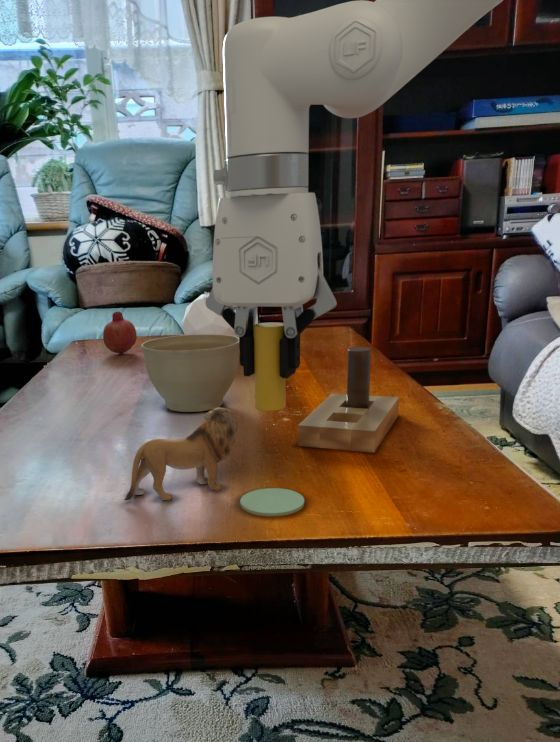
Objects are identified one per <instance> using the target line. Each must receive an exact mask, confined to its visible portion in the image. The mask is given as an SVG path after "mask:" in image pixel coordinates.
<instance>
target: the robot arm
mask: <svg viewBox="0 0 560 742" xmlns="http://www.w3.org/2000/svg"><path fill="white" fill-rule="evenodd" d="M503 1H504V0H374V1H370V0H351V1H346V2H342V3H339V4H335V5H331V6H327V7H325V8H322V9H318V10H315V11H312V12H307V13H304V14H300V15H296V16H292V17H287V16H261V17H255V18H250V19H246V20H243V21H241V22H239V23H236V24H234V25H232V27H230V29H229V30H228V31H227V33H226V34H225V36H224V39H223V46H222V64H223V65H222V66H223V69H222V70H223V92H224V96H223V97H224V117H225V118H224V121H225V123H224V125H225V159H226V160H224V161H223V162H224V164H223V165H224V167H222V168H221V169H215V170H214V172H213V181H214V184H215V185H216V186H220V185H222V186H223V187H224V189H225V192H227V197H219V198H218V202H217V208H216V216H215V223H214V232H213V233H214V234H213V244H212V245H213V247H212V288H211V290H210V292H209V293H210V294H209V297H208V299H207V301H206V307H207V308H208V309H210V310H211V311H213V312H214V313H216V314H218V315H219V316H222V317H223V318H224V320H225V321H226V322H227V323H228V324H229V325H230V326H231V327H232V328H233V329H234V332H235V334H236V336H238V337H239V364H240V366H241V367H243V370H242V371H243V377H251V376H253V375H254V328H253V326H254V325H255V324H256V320H257V311H258V310H257V308H258V307H270V308H271V307H272V308H273V307H274V308H275V307H281V313H282V321H283V322H282V323H284V337H283V338H281V339H280V342H279V347H280V377H282V378H286V379H288V378H290V377H292V376H293V375H294V374H295V373H296V370H297V369H299V368H300V365H301V334H303V333H304V332H305V330H306V329H307V328H308V327H309V326H310V325H311V324H312V323H313V322H314V321H315V320H316V319H317V318H319V317H321V316H323V315H324V314H326V313H328V312H330V311H331V310H333V309H335V308H336V307H337V305H338V303H337V299H336V297H335V296H334V294H333V292H332V289H331V288H330V286H329V284H328V281H327V280H326V278H325V275H324V258H323V255H324V254H323V242H322V234H321V233H322V230H321V222H320V214H319V208H318V203H317V197H316V193H315V192H309V150H310V149H309V148H310V147H309V146H310V141H309V140H310V137H309V136H310V135H309V134H310V107H311V106H312V105H313V106H314V105H318V106H319V105H320V106H321V105H322V106H323V107H324V108H325V109H326V110H327V111H328V112H330V113H331V114H333V115H335V116H337V117H338V118H343V119H357V118H362V117H365V116H366V115H369V114H372V113H373V112H374V111H376V110H377V109H379V107H381V106H382V105H384V104H385V103H386V102H387V101H388V100H389V99H390V98H392V97H393V96H394V95H395V94H396V93H398V91H400V90H401V89H402V88H403V87H404V86H405V85H406V84H408V83H409V82H410V81H411V80H412V79H413V78H415V77H416V76H417V75H418V74H420V73H421V72H422V71H423V70H424V69H425V68H426V67H427V66H429V65H430V64H431V63H432V62H433V61H434V60H436V59H437V58H438V57H439V56H440V55H441V54H442V53H443V52H444V51H445V50H446V49H448V48H449V47H450V46H451V45H452V44H453V43H454V42H456V41H457V39H459V38H460V37H461V36H462V35H463V34H464V33H465V32H466V31H468V30H469V29H470V28H471V27H472V26H474V25H475V23H477V22H478V21H479V20H480V19H481V18H483V17H484V16H485V15H487V14H488V13H489V12H491V10H493V9H494V8H495V7H497V6H498V5H500V4H501V3H502V2H503ZM315 299H316V301H315V303H314V304H312V305H310V306H309V307H308V308H306V309H304V307H303V305H304V304H306V303H308V302H309V301H312V300H315ZM233 306H236V307H233Z"/></svg>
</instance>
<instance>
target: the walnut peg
mask: <svg viewBox="0 0 560 742" xmlns="http://www.w3.org/2000/svg"><path fill="white" fill-rule="evenodd" d="M371 359H372V349H371V348H370V347H368V346H353V347H349V348H347V363H346V366H347V367H346V394H347V406H346V407H349V408H365V409H369V396H370V388H371V387H370V386H371V384H370V383H371V361H372V360H371Z"/></svg>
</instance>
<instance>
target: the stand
mask: <svg viewBox="0 0 560 742" xmlns="http://www.w3.org/2000/svg"><path fill="white" fill-rule="evenodd" d="M399 404H400V397H399V396H383V395H369V409H365V408H349V407H346V406H347V393H331V394H330V395H329V396H327V397H326V398H325V399H324V400H323V401H321V403H320V404H319V405H318V406H316V408H314V409H313V411H311V413H309V414H308V415H307V416H306V417H305V418H304V419H303V420H302V421H301V422H300V423H299V424H298V425H297V446H298V447H306V448H307V447H308V448H318V449H319V448H320V449H329V450H342V451H353V452H354V451H355V452H364V453H375V452H376V451H377V449H378V447H379V446H380V444H381V443H382V441H383V440H384V438H385V436H386V435H387V434H388V432H389V431H390V429H391V428H392V426H393V425H394V423H395V421H396V420H397V419H398V417H399V406H400V405H399Z"/></svg>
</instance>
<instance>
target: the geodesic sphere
mask: <svg viewBox="0 0 560 742" xmlns="http://www.w3.org/2000/svg"><path fill="white" fill-rule="evenodd" d="M209 294H210V292H209V291H208V292H207V291H204V293H202V294H200V295H199V296H198V297H197V298H195V299H194V300H193V301H191V303H189V304H188V305H187V306H186V307H185V311H184V315H183V319H182V323H181V329H182V332H183V335H191V334H220V335H231V336H236V334H235V332H234V329H233V328H232V327H231V326H230V325H229V324H228V323H227V322H226V321H225V320H224V318H223V317H222V316H219V315H218V314H216V313H214V312H213V311H211V310H210V309H208V308H207V307H206V301H207V299H208V297H209ZM233 307H236V306H233ZM236 337H238V336H236ZM238 338H239V337H238Z"/></svg>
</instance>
